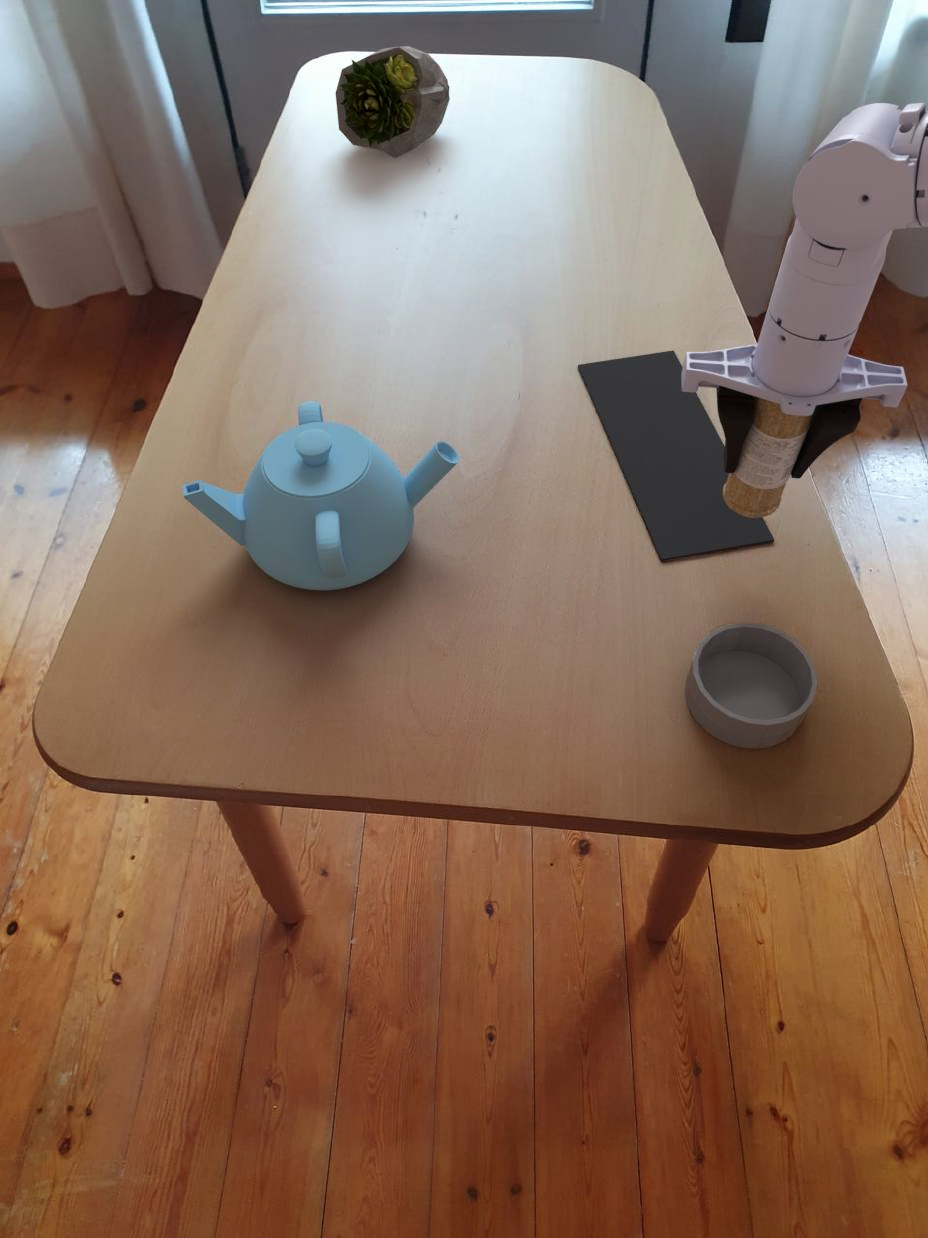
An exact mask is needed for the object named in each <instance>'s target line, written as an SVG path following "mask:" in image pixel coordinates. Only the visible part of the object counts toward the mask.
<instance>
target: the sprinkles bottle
mask: <svg viewBox="0 0 928 1238" xmlns="http://www.w3.org/2000/svg"><path fill="white" fill-rule="evenodd" d="M816 406H817V405H816ZM816 406H815V408H816ZM814 410H815V409H814ZM813 413H814V412H813ZM753 416H754V423H753V425H752V426H751V428H750V430H749V432H748V434H747V436H746V438H745V440H744V443H743V445H742V448H741V453H740V457H739V461H738V465H737V468H736V470H735V472H734V473H729V476H728V480H727V482H726V483H725V485H724V487H723V498H724V500H725V502H726V504H727V505H728V506H729V508H730V509H732V510H733V511H735V512H737V513H738V514H740V515H742V516H746V517H749V518H760V517H763V518H765V517H768V516H771V515H772V514H774V513H775V512H776V511H777V510H778V509H779V507H780V505H781V502H782V496H783V493H784V490H785V488H786V485H787V482H789V479H790V478H791V473H792V470H793V468H794V465H795V463H796V460H797V457H798V455H799V452H800V450H801V447H802V444H803V442H804V439H805V437H806V434H807V431H808V429H809V426H810V421H811V419H812V416H813V414H812V415H810V416H799V415H788V414H785V413H783V412H782V410H781V406H780V404H778V403H775V402H772V401H769V400H765V399H762V398H759V397H756V396H754V403H753Z"/></svg>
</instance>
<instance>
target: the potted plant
mask: <svg viewBox="0 0 928 1238" xmlns="http://www.w3.org/2000/svg"><path fill="white" fill-rule="evenodd" d="M448 81H449V80H448V78H447V76H446V75H445V73H444V71H443V69H442V67H441V66H440V64H439V63H438V62H436V60H435V59H434V58H433V57H432V56H431V55H430V53H427V52H426V51H422V50H420V49H417V48H415V47H412V46H409V45H405V46H393V47H384V48H381V49H379V50H377V51H375V52H373V53H371V54H369V55H367V56H365V57H363V58H361V59H360V60H357V61H356V60H354V59H351V64H349V65H348V66H346V67H343V68H342V69H341V72H340V75H339V78H338V82H337V86H336V90H335V94H334V95H335V102H336V104H335V105H336V113H337V124H338V130H339V131H340V132H341V133H342V134H343V136H344V137H345V138H346V139H347V140H348V142H350V144H351V145H353V146H356V147H361V148H365V149H370V150H376V151H381V152H383V153H385V154H387V155H388V156H390V157H392V158H394V159H398V158H399V157H401V156H403V155H405V154H407V153H408V152H411V151H413V150H415V149H416V148H417V147H419V146H420V145H422V144H423V143H424V142H426V141H427V140H429V139H431V138H432V137H433V136H434V135H435V134H436V133H437V130H439V128H440V127H441V125H442V123H443V121H444V118H445V115H446V112H447V109H448V106H449V103H450V99H451V98H450V85H449V82H448Z"/></svg>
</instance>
